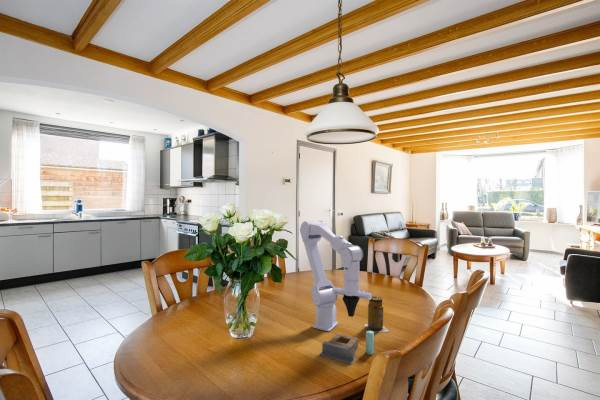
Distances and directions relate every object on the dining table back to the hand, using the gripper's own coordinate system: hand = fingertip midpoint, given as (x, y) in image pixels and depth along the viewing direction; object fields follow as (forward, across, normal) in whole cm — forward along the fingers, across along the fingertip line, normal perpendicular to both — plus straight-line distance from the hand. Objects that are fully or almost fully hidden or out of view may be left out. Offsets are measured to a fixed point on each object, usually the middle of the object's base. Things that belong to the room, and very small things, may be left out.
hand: (351, 315), depth 113 cm
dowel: (+9, +8, -5) cm, 14 cm away
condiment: (+10, +5, +16) cm, 19 cm away
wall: (+9, 0, -13) cm, 16 cm away
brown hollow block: (+9, 0, -8) cm, 12 cm away
